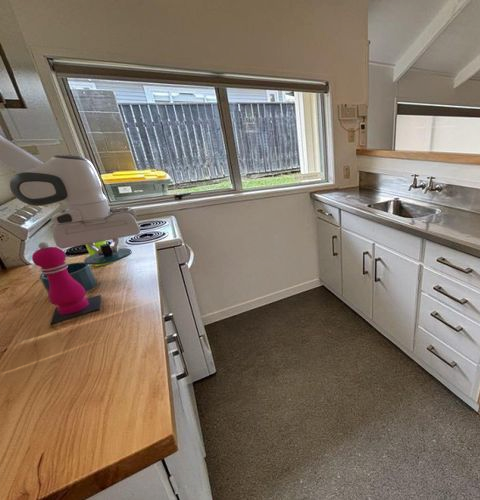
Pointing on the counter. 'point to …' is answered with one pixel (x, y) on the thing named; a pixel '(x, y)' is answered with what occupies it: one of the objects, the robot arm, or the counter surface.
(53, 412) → the counter surface
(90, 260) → the lid
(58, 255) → the pepper mill
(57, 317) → the mat
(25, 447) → the counter surface
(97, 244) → the soap dispenser
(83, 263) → the pot
